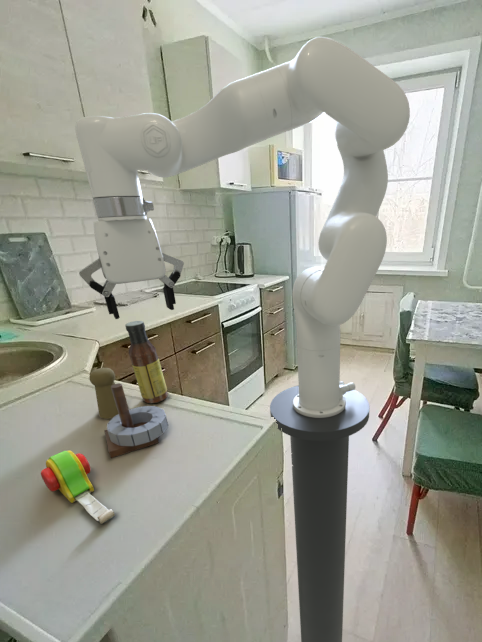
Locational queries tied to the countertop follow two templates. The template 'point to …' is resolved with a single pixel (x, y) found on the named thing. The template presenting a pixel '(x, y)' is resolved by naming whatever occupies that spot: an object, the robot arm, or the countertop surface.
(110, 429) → the segmented block ring
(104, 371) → the cork
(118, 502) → the countertop surface
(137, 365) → the sauce bottle
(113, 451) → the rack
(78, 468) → the toy measuring tape
